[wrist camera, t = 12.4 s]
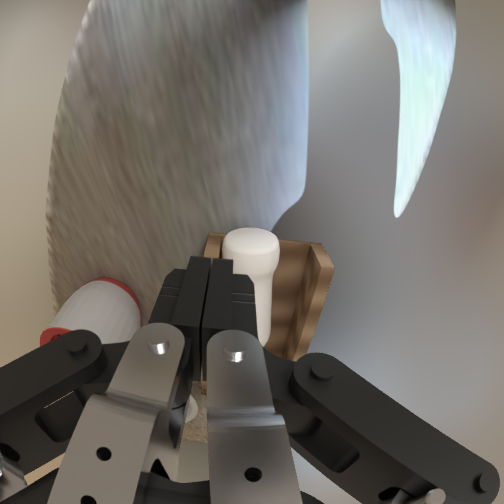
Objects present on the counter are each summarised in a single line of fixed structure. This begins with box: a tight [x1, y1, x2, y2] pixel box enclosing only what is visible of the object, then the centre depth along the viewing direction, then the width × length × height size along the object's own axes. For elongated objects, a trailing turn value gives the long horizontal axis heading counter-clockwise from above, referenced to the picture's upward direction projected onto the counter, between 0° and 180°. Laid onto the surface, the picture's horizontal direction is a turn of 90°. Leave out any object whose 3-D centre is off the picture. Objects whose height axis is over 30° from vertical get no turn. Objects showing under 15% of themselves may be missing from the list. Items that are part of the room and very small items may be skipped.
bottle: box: [222, 228, 280, 347], centre depth 46 cm, size 8×8×30 cm
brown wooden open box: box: [201, 232, 335, 395], centre depth 48 cm, size 32×18×8 cm, turn 173°
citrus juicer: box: [40, 278, 141, 347], centre depth 41 cm, size 16×17×20 cm
